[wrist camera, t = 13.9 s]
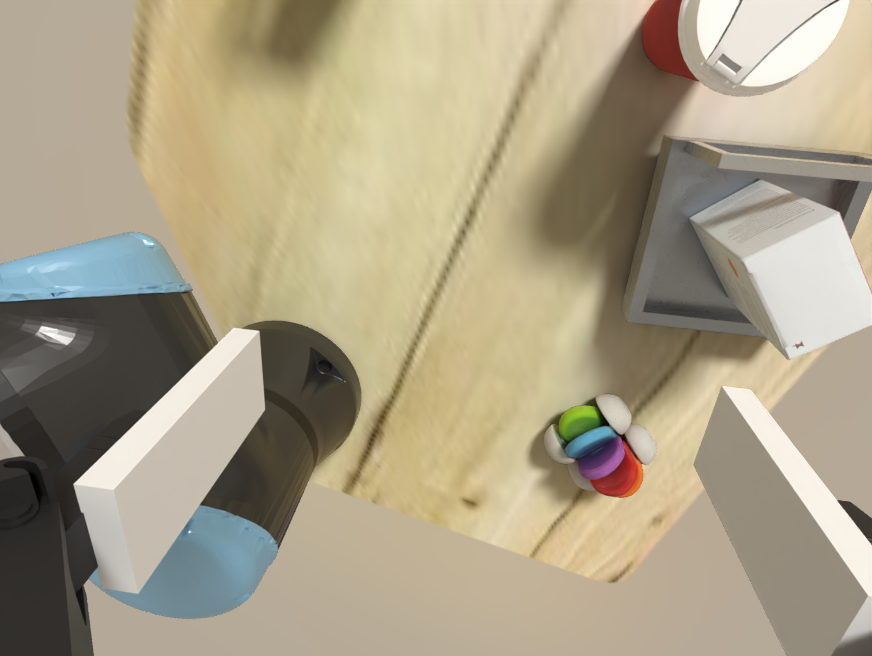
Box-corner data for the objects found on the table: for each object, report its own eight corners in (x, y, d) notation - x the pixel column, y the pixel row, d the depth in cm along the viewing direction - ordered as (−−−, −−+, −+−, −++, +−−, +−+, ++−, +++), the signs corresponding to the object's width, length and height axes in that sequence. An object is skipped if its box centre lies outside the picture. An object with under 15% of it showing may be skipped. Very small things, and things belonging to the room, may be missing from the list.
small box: (799, 265, 42) (887, 323, 32) (727, 300, 44) (789, 364, 34) (761, 175, 39) (843, 209, 30) (685, 216, 41) (741, 260, 32)
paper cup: (687, 109, 40) (772, 128, 28) (603, 50, 39) (651, 41, 27) (768, 3, 37) (906, -30, 24) (678, -64, 36) (774, -136, 23)
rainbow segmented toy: (586, 481, 56) (598, 536, 50) (530, 418, 54) (534, 467, 47) (661, 442, 53) (683, 495, 47) (605, 374, 50) (620, 419, 44)
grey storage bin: (617, 302, 47) (646, 361, 38) (658, 133, 41) (704, 152, 32) (783, 320, 46) (855, 385, 37) (850, 150, 40) (957, 175, 31)
